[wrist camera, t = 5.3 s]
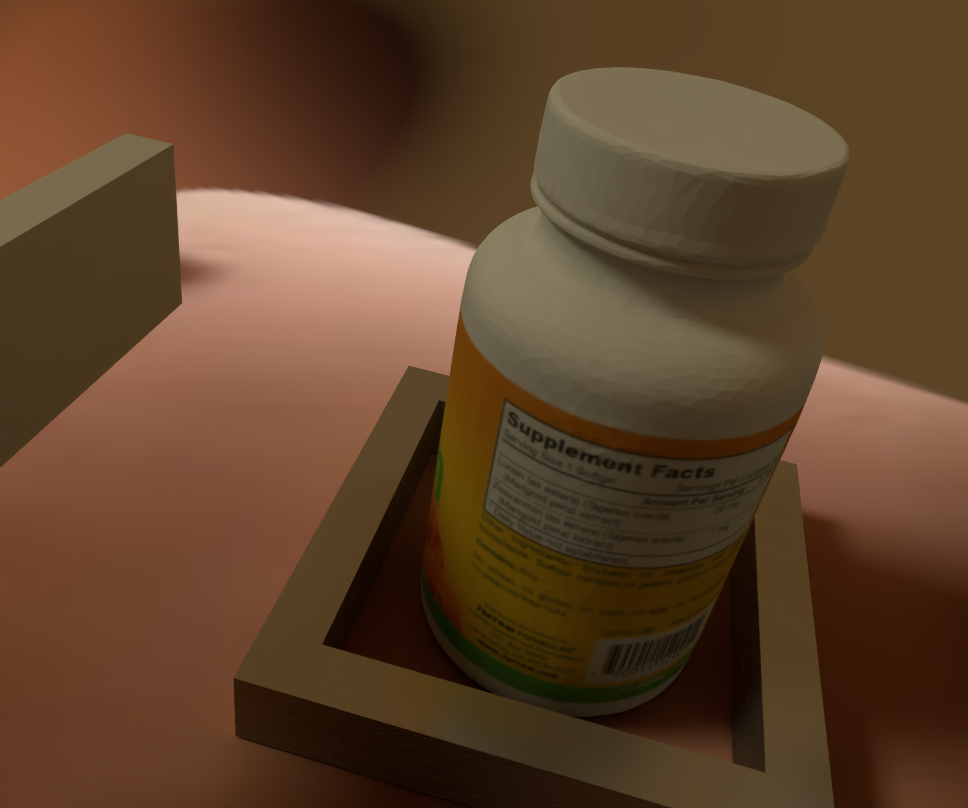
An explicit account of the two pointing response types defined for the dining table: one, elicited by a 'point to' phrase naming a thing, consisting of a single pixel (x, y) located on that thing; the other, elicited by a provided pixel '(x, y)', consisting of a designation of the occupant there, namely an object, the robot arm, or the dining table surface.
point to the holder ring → (509, 723)
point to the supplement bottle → (624, 384)
